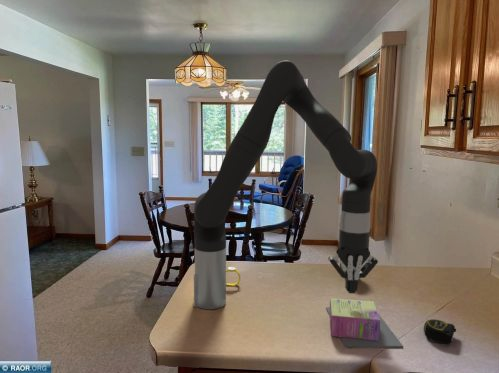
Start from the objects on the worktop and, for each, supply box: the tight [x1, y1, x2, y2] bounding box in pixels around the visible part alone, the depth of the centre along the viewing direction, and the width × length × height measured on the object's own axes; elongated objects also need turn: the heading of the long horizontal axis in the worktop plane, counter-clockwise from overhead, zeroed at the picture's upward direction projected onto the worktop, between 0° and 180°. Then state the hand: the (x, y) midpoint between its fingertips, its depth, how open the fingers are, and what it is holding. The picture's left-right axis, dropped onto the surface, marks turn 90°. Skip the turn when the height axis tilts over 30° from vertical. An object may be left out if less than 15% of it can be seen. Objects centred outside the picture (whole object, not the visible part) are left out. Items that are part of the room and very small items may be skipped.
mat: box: [325, 306, 404, 349], centre depth 100 cm, size 14×20×1 cm
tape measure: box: [423, 318, 457, 345], centre depth 94 cm, size 7×7×4 cm
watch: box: [226, 266, 241, 287], centre depth 125 cm, size 6×3×6 cm, turn 91°
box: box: [328, 297, 380, 341], centre depth 97 cm, size 10×6×12 cm
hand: (351, 292), depth 98 cm, fingers closed
